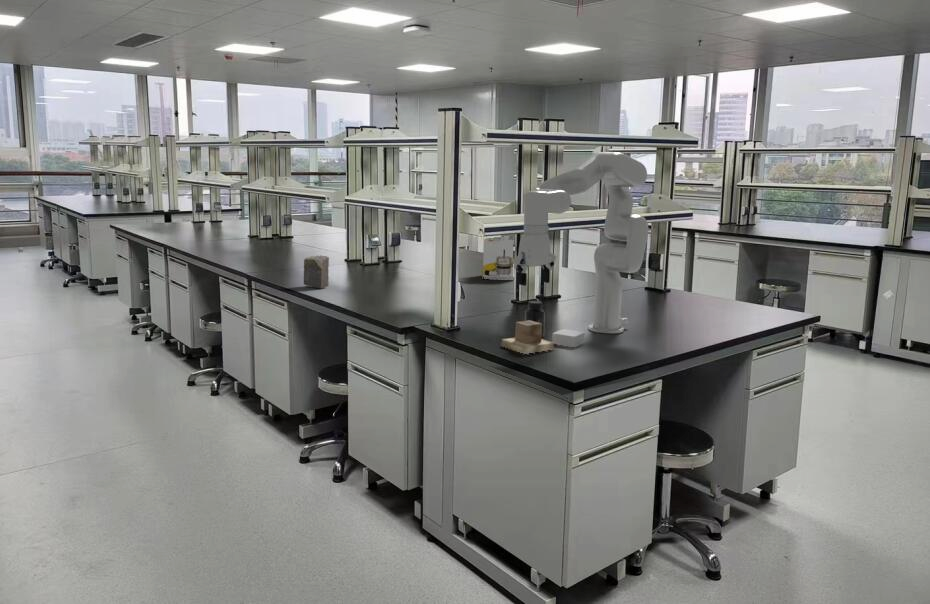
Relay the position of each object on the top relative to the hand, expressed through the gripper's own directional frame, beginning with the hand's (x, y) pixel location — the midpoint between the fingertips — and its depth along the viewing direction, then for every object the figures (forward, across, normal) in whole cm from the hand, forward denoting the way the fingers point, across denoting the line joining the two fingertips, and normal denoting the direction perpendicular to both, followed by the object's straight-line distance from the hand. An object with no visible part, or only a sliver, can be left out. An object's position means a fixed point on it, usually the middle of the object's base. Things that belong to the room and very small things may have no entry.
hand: (534, 283), depth 226 cm
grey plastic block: (+21, -13, +3) cm, 25 cm away
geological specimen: (+21, +16, -137) cm, 140 cm away
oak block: (+22, +3, +1) cm, 22 cm away
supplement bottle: (+21, -10, -11) cm, 26 cm away
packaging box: (+23, -80, -122) cm, 147 cm away
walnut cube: (+18, +3, +1) cm, 19 cm away
